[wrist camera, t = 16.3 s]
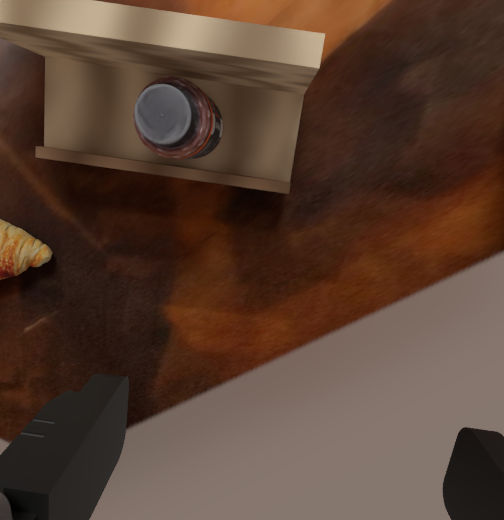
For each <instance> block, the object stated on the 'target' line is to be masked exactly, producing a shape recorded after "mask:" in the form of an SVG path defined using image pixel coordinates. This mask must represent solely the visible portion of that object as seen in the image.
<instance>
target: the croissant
mask: <svg viewBox="0 0 504 520" xmlns="http://www.w3.org/2000/svg"><path fill="white" fill-rule="evenodd" d="M51 255H52V251H51V249H50V248H49V247H48V246H47V245H46V244H43V243H42V242H41V241H40V240H38V239H35V238H34V237H32V236H31V235H29V234H28V233H27V232H26V231H24V230H23V229H21V228H18V227H15V226H13V225H11V224H10V223H8V222H5V221H3V220H1V219H0V280H2V279H5V278H9V277H14V276H17V275H19V274H21V273H22V272H23V271H25V270H27V269H28V268H29V266H31V267H38V266H41V265H42V264H44V263H45V262H48V261H49V260H50V259H51Z"/></svg>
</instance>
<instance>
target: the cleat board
mask: <svg viewBox="0 0 504 520" xmlns="http://www.w3.org/2000/svg"><path fill="white" fill-rule="evenodd" d="M0 38H2V39H4V40H7V41H9V42H11V43H14V44H16V45H18V46H21V47H23V48H25V49H27V50H30V51H32V52H34V53H37V54H39V55H41V56H44V57H45V115H44V147H42V146H36V157H37V158H44V159H51V160H58V161H65V162H72V163H79V164H86V165H92V166H99V167H106V168H113V169H120V170H127V171H134V172H141V173H148V174H155V175H161V176H168V177H175V178H182V179H189V180H196V181H203V182H210V183H217V184H224V185H231V186H237V187H244V188H251V189H258V190H265V191H272V192H279V193H286V194H289V190H290V184H291V183H290V178H291V172H292V166H293V159H294V153H295V147H296V141H297V135H298V128H299V122H300V116H301V110H302V103H303V97H304V93H305V92H306V90H307V88H308V87H309V85H310V83H311V82H312V80H313V78H314V77H315V75H316V73H317V71H318V70H319V68H320V62H321V56H322V50H323V44H324V38H325V34H323V33H316V32H309V31H302V30H295V29H288V28H281V27H274V26H267V25H260V24H253V23H246V22H239V21H232V20H225V19H218V18H211V17H204V16H197V15H190V14H183V13H176V12H169V11H162V10H155V9H148V8H141V7H134V6H127V5H120V4H113V3H106V2H99V1H92V0H0ZM167 76H175V77H181V78H183V79H186V80H188V81H190V82H192V83H193V84H195V85H196V86H197V87H199V88H200V89H201V90H202V91H203V92H204V93H205V94H206V95H207V96H208V97H209V98H210V99H212V101H213V102H214V103H215V104H216V106H217V107H218V109H219V111H220V113H221V116H222V119H223V133H222V137H221V140H220V142H219V144H218V145H217V147H216V148H215V149H214V150H213V151H212V152H211V153H209V154H208V155H206V156H203V157H200V158H196V159H170V158H164V157H161V156H159V155H157V154H155V153H153V152H152V151H151V150H149V149H148V148H147V147H146V146H145V145H144V144H143V142H142V141H141V140H140V138H139V136H138V134H137V132H136V129H135V125H134V118H133V116H134V106H135V102H136V100H137V98H138V96H139V94H140V93H141V91H142V90H143V89H144V88H145V87H146V86H147V85H148V84H149V83H151V82H152V81H154V80H156V79H159V78H163V77H167Z"/></svg>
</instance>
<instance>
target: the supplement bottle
mask: <svg viewBox="0 0 504 520" xmlns="http://www.w3.org/2000/svg"><path fill="white" fill-rule="evenodd" d="M133 118H134V125H135V129H136V132H137V134H138V136H139V138H140V140H141V141H142V142H143V144H144V145H145V146H146V147H147V148H148V149H149V150H151V151H152V152H153V153H155V154H157V155H159V156H161V157H164V158H170V159H196V158H200V157H203V156H206V155H208V154H209V153H211V152H212V151H213V150H214V149H215V148H216V147H217V145H218V144H219V142H220V140H221V137H222V133H223V119H222V116H221V113H220V111H219V109H218V107H217V106H216V104H215V103H214V102H213V101H212V99H210V98H209V97H208V96H207V95H206V94H205V93H204V92H203V91H202V90H201V89H200V88H199V87H197V86H196V85H195V84H193V83H192V82H190V81H188V80H186V79H183V78H181V77H175V76H167V77H163V78H159V79H156V80H154V81H152V82H151V83H149V84H148V85H147V86H146V87H145V88H144V89H143V90H142V91H141V93H140V94H139V96H138V98H137V100H136V102H135V106H134V116H133Z"/></svg>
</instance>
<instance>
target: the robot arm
mask: <svg viewBox="0 0 504 520" xmlns="http://www.w3.org/2000/svg"><path fill="white" fill-rule="evenodd" d="M128 391H129V380H128V377H124V376H117V375H110V374H103V373H95V374H94V375H93V376H92V377H91V378H90V380H89V381H88V382H87V383H86V385H85V386H84V387H83V388H82V390H81V391H80V392H74V391H66V392H65V393H63V394H61V395H59V396H58V397H56V398H54V399H52V400H51V401H49V402H47V403H46V405H45V406H44V407H43V408H42V409H41V410H40V411H39V412H38V414H37V415H36V416H35V417H34V419H33V421H30V423H29V424H28V425H27V426H26V427H25V428H24V429H23V430H22V433H21V435H18V436H17V437H16V438H15V439H14V440H13V442H12V443H11V444H10V445H9V446H8V447H7V449H5V451H4V452H3V453H2V454H1V455H0V520H89V519H90V517H91V515H92V513H93V511H94V509H95V507H96V505H97V503H98V501H99V499H100V497H101V495H102V492H103V491H104V488H105V487H106V485H107V482H108V480H109V478H110V476H111V474H112V472H113V470H114V468H115V466H116V464H117V462H118V460H119V457H120V454H121V451H122V448H123V444H124V439H125V433H126V419H127V405H128ZM443 498H444V503H445V507H446V510H447V512H448V514H449V516H450V518H451V520H504V437H503V435H502V434H500V433H498V432H494V431H487V430H481V429H474V428H466V427H465V428H462V429H461V430H460V432H459V433H458V436H457V439H456V442H455V445H454V449H453V452H452V456H451V458H450V462H449V465H448V468H447V471H446V475H445V478H444V482H443Z"/></svg>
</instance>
